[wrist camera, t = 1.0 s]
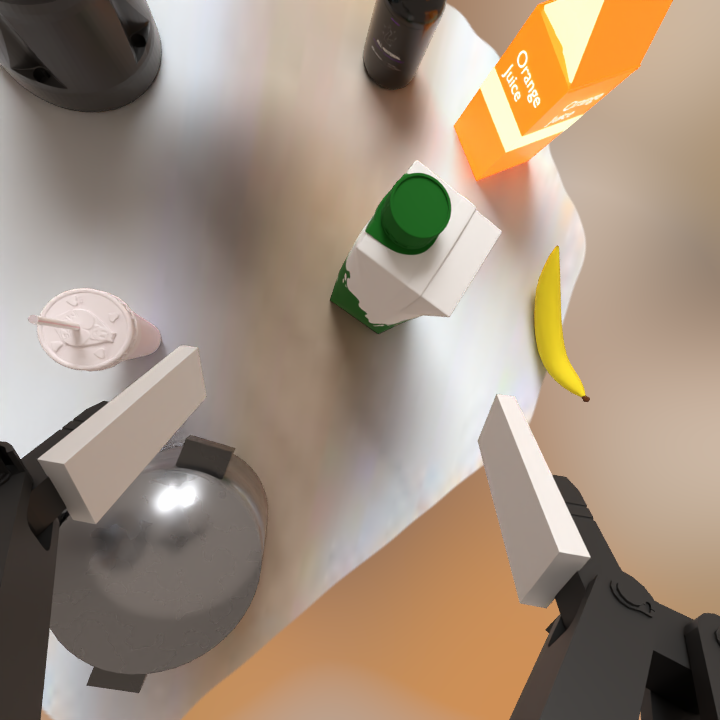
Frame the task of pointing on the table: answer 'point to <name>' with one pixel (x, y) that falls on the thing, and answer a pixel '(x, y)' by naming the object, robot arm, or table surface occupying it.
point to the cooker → (161, 566)
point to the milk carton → (414, 253)
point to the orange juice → (554, 76)
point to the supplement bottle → (399, 39)
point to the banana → (553, 328)
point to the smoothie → (93, 330)
